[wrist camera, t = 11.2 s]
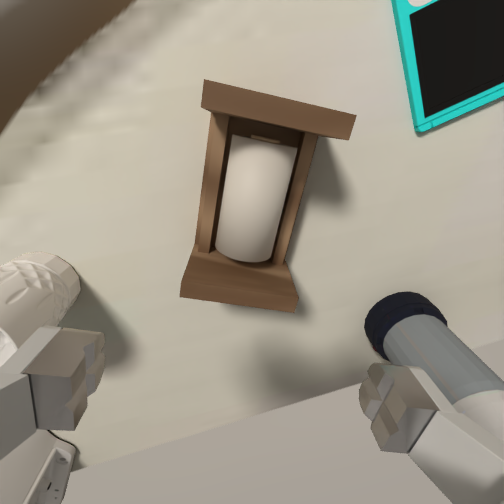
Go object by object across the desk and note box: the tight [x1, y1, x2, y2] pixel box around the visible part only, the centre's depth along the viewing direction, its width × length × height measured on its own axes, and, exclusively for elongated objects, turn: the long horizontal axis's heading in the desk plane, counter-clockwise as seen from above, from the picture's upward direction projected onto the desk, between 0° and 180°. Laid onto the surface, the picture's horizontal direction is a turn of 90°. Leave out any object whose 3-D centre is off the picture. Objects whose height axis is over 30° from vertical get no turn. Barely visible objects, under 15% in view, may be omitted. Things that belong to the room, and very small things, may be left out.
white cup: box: [0, 252, 81, 367], centre depth 24 cm, size 8×8×10 cm
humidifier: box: [364, 292, 504, 442], centre depth 22 cm, size 8×8×25 cm
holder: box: [180, 79, 357, 313], centre depth 22 cm, size 14×9×8 cm, turn 169°
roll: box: [215, 134, 298, 262], centre depth 23 cm, size 10×5×5 cm, turn 169°
